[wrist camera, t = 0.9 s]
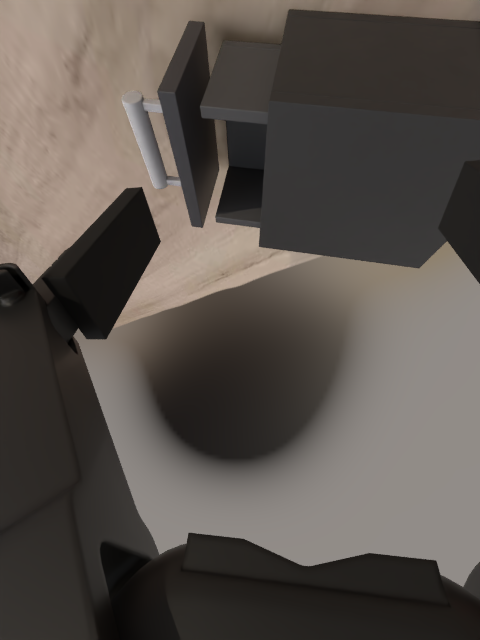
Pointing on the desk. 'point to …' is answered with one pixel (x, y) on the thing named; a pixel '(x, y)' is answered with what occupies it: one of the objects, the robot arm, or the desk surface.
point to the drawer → (211, 124)
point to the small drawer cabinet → (368, 134)
